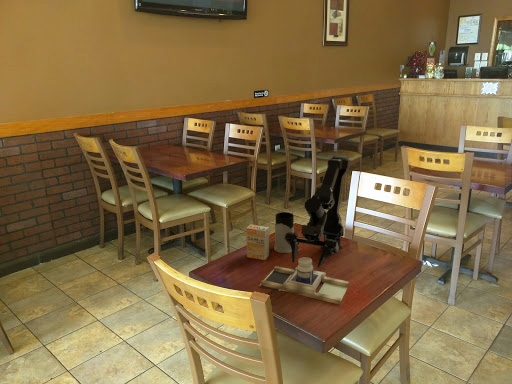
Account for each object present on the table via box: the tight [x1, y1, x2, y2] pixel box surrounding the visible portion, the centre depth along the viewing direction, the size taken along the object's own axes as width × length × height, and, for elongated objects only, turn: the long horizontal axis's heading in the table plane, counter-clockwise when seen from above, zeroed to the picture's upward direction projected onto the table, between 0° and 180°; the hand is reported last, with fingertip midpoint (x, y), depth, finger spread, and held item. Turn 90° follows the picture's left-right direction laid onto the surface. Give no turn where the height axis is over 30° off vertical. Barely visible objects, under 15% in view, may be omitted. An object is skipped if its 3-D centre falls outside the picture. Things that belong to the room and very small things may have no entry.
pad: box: [317, 282, 349, 301], centre depth 135 cm, size 8×10×1 cm
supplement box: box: [245, 223, 270, 261], centre depth 159 cm, size 8×5×13 cm, turn 68°
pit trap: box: [258, 269, 292, 292], centre depth 144 cm, size 8×14×1 cm, turn 154°
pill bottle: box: [296, 256, 314, 285], centre depth 138 cm, size 6×6×10 cm
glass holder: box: [273, 211, 295, 254], centre depth 169 cm, size 9×14×15 cm, turn 156°
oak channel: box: [260, 265, 350, 305], centre depth 139 cm, size 28×13×3 cm, turn 64°
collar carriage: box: [287, 270, 321, 289], centre depth 139 cm, size 9×9×2 cm
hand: (305, 264), depth 137 cm, fingers open, 9 cm apart
